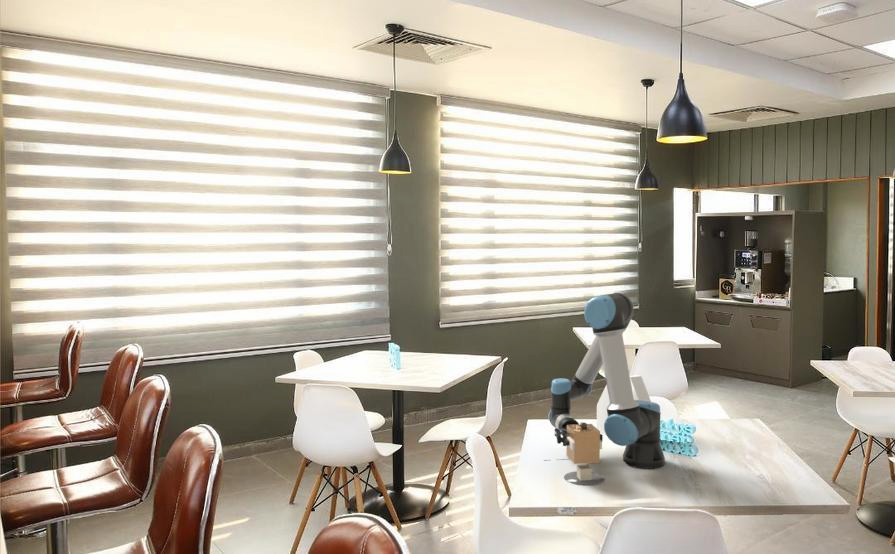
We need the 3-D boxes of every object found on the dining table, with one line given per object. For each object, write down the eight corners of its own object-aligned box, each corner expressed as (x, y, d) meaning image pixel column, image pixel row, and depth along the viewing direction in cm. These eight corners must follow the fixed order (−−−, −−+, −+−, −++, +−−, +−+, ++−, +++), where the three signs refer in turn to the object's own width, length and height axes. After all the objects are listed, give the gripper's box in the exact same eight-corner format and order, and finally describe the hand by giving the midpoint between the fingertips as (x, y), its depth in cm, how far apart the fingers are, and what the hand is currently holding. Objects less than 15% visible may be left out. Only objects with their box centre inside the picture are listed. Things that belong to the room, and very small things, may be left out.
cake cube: (587, 475, 238) (587, 464, 238) (591, 479, 234) (591, 468, 234) (576, 476, 238) (576, 465, 237) (580, 480, 234) (580, 469, 233)
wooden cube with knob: (590, 454, 241) (591, 419, 240) (599, 462, 232) (600, 426, 231) (566, 455, 240) (566, 420, 239) (574, 463, 231) (574, 427, 230)
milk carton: (596, 431, 295) (596, 374, 294) (625, 426, 302) (625, 371, 300) (624, 443, 278) (625, 383, 276) (654, 438, 284) (654, 379, 282)
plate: (606, 476, 240) (606, 473, 240) (602, 490, 227) (602, 487, 227) (567, 472, 245) (567, 469, 245) (561, 486, 232) (561, 483, 231)
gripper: (595, 435, 255) (617, 455, 232) (539, 437, 252) (556, 458, 230) (596, 415, 254) (617, 434, 232) (539, 417, 252) (556, 436, 229)
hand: (587, 446), depth 231 cm, fingers closed on wooden cube with knob, 9 cm apart
